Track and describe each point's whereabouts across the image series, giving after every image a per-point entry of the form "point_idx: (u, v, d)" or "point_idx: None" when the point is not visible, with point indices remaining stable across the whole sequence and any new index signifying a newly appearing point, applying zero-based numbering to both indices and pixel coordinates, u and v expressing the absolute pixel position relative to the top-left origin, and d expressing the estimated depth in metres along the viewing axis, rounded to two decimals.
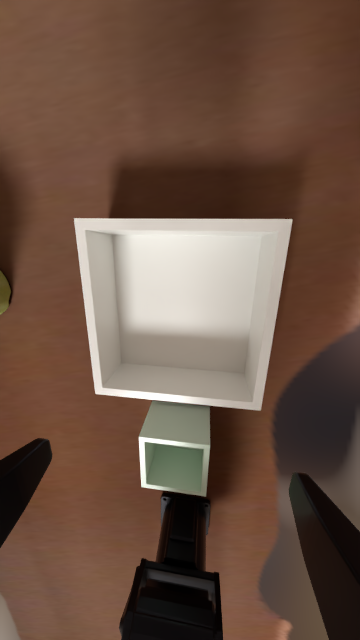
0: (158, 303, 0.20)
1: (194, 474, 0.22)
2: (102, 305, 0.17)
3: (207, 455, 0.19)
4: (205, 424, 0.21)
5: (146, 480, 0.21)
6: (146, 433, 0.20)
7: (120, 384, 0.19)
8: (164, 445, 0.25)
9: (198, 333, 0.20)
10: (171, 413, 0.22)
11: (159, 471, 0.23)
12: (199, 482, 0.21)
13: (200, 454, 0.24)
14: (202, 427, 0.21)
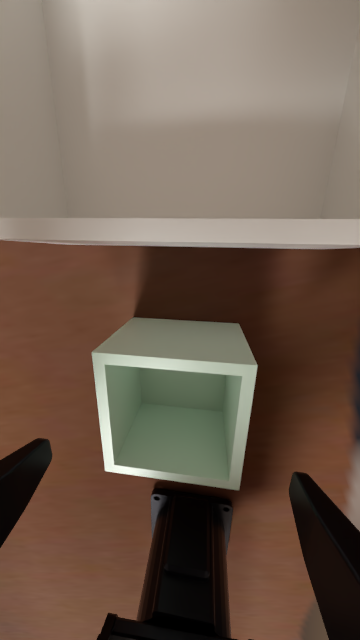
0: (138, 63, 0.09)
1: (211, 448, 0.11)
2: None
3: (249, 392, 0.08)
4: (237, 340, 0.10)
5: (115, 457, 0.10)
6: (110, 348, 0.09)
7: None
8: (155, 402, 0.14)
9: (223, 138, 0.09)
10: (168, 328, 0.11)
11: (143, 442, 0.12)
12: (223, 462, 0.11)
13: (219, 416, 0.14)
14: (232, 343, 0.10)
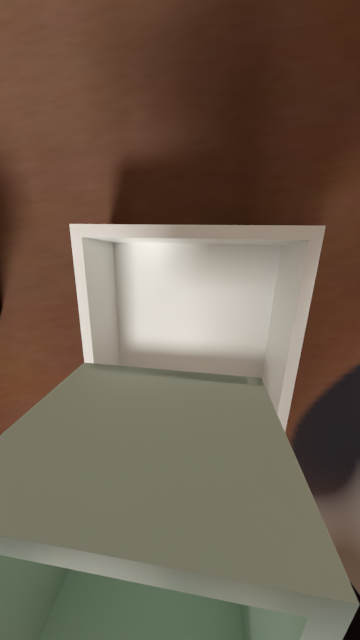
0: (163, 318, 0.18)
1: (215, 621, 0.06)
2: (100, 322, 0.15)
3: None
4: (268, 439, 0.05)
5: None
6: None
7: None
8: None
9: (207, 352, 0.18)
10: (134, 396, 0.06)
11: (89, 605, 0.06)
12: None
13: None
14: (261, 456, 0.04)
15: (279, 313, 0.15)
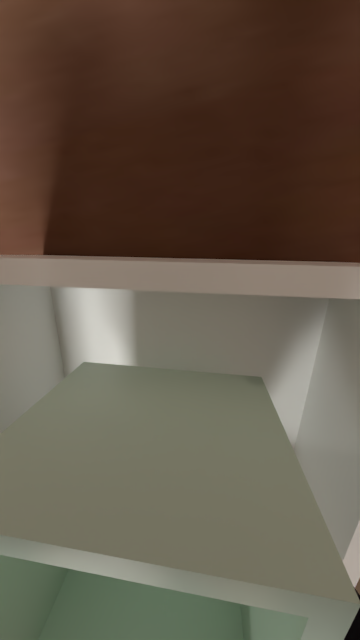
0: None
1: (215, 621, 0.06)
2: (20, 412, 0.09)
3: None
4: (269, 438, 0.05)
5: None
6: None
7: None
8: None
9: None
10: (134, 395, 0.06)
11: (89, 605, 0.06)
12: None
13: None
14: (261, 455, 0.04)
15: (331, 403, 0.08)
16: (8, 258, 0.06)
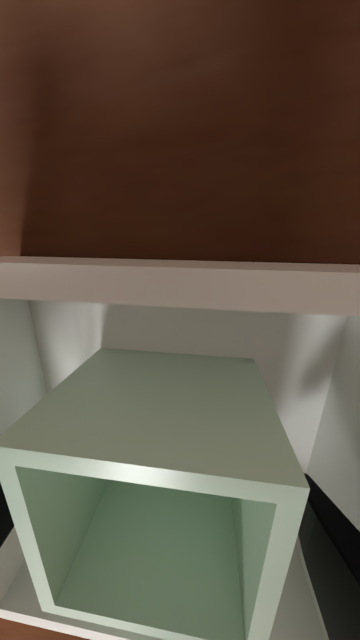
0: None
1: (215, 558, 0.07)
2: None
3: (289, 530, 0.04)
4: (256, 400, 0.06)
5: (57, 591, 0.06)
6: (29, 431, 0.05)
7: None
8: None
9: None
10: (146, 372, 0.07)
11: (109, 547, 0.08)
12: (234, 595, 0.07)
13: None
14: (249, 410, 0.06)
15: (354, 432, 0.07)
16: None
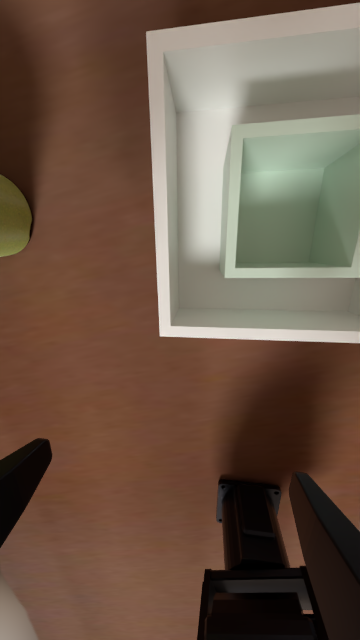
0: None
1: (317, 265, 0.12)
2: (171, 204, 0.12)
3: None
4: None
5: (234, 263, 0.11)
6: None
7: (193, 323, 0.14)
8: (241, 261, 0.15)
9: None
10: None
11: (250, 266, 0.12)
12: (336, 266, 0.11)
13: (308, 262, 0.14)
14: None
15: None
16: (217, 24, 0.09)
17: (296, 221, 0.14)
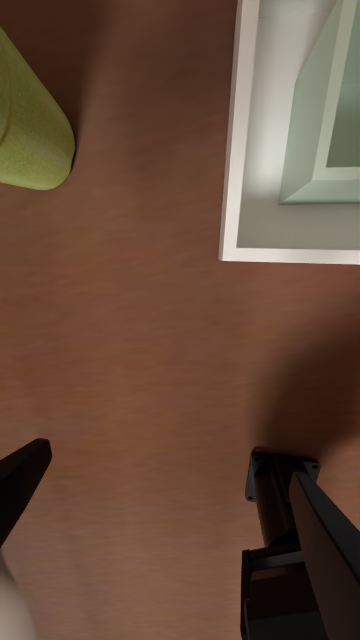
0: None
1: None
2: None
3: None
4: None
5: None
6: None
7: None
8: None
9: None
10: None
11: None
12: None
13: None
14: None
15: None
16: None
17: None
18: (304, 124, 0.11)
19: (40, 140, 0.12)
